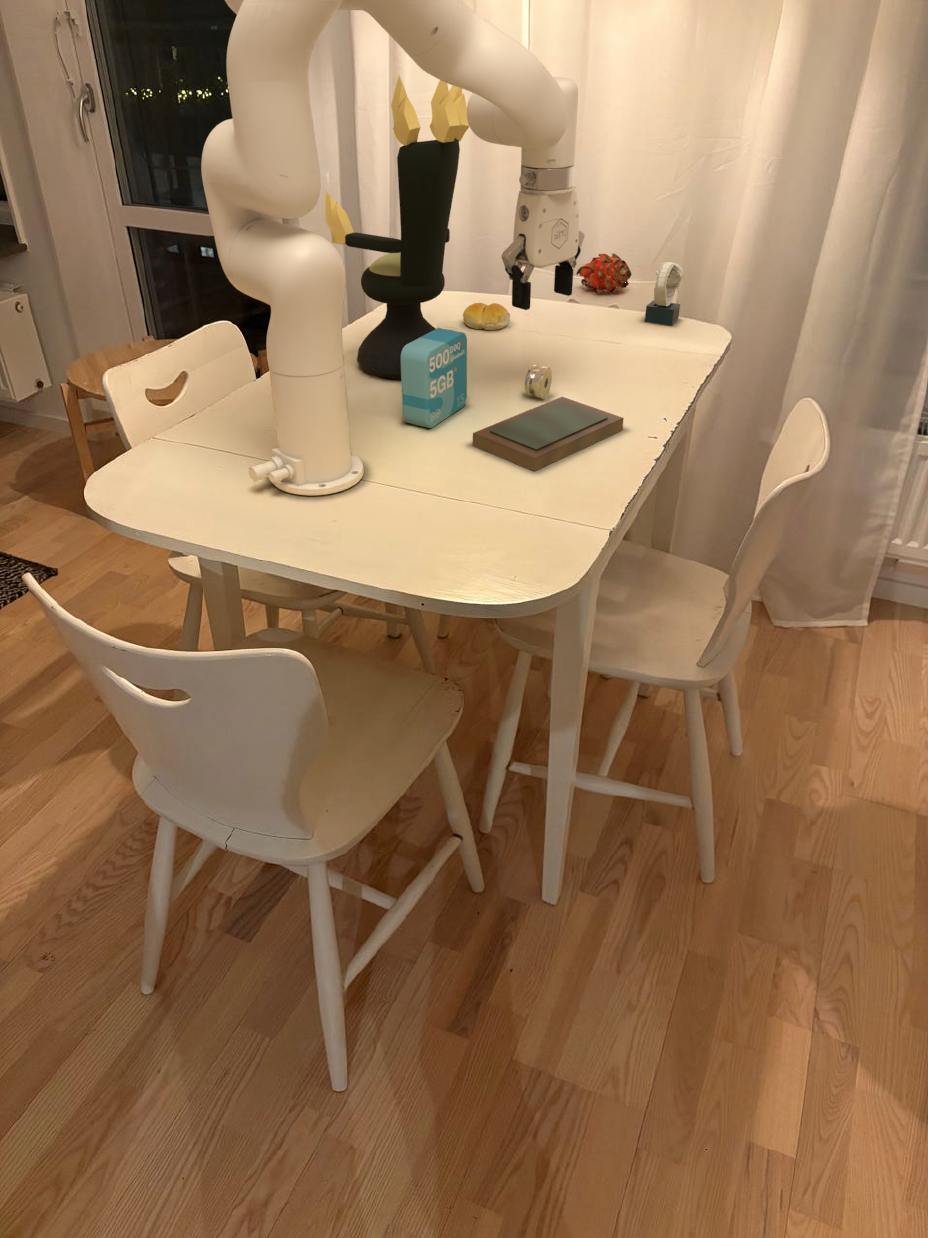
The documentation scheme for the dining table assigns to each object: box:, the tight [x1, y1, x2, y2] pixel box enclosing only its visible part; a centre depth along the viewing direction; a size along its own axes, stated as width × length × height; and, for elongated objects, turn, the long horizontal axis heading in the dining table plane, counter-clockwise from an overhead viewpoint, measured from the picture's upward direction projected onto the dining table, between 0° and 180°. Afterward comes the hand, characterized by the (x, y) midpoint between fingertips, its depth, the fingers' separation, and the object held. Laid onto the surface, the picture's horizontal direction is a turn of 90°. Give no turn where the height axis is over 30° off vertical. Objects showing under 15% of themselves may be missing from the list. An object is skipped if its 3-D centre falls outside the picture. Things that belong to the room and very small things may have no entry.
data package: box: [400, 327, 468, 429], centre depth 139 cm, size 12×4×12 cm, turn 150°
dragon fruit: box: [576, 252, 633, 295], centre depth 197 cm, size 8×8×12 cm
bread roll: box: [462, 302, 511, 331], centre depth 178 cm, size 8×9×4 cm
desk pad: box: [472, 396, 624, 472], centre depth 135 cm, size 20×12×2 cm, turn 135°
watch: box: [644, 261, 685, 327], centre depth 179 cm, size 6×8×11 cm
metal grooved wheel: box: [524, 364, 553, 400], centre depth 147 cm, size 5×3×5 cm, turn 155°
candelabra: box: [324, 74, 470, 380], centre depth 147 cm, size 19×22×45 cm
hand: (542, 300), depth 140 cm, fingers open, 9 cm apart
